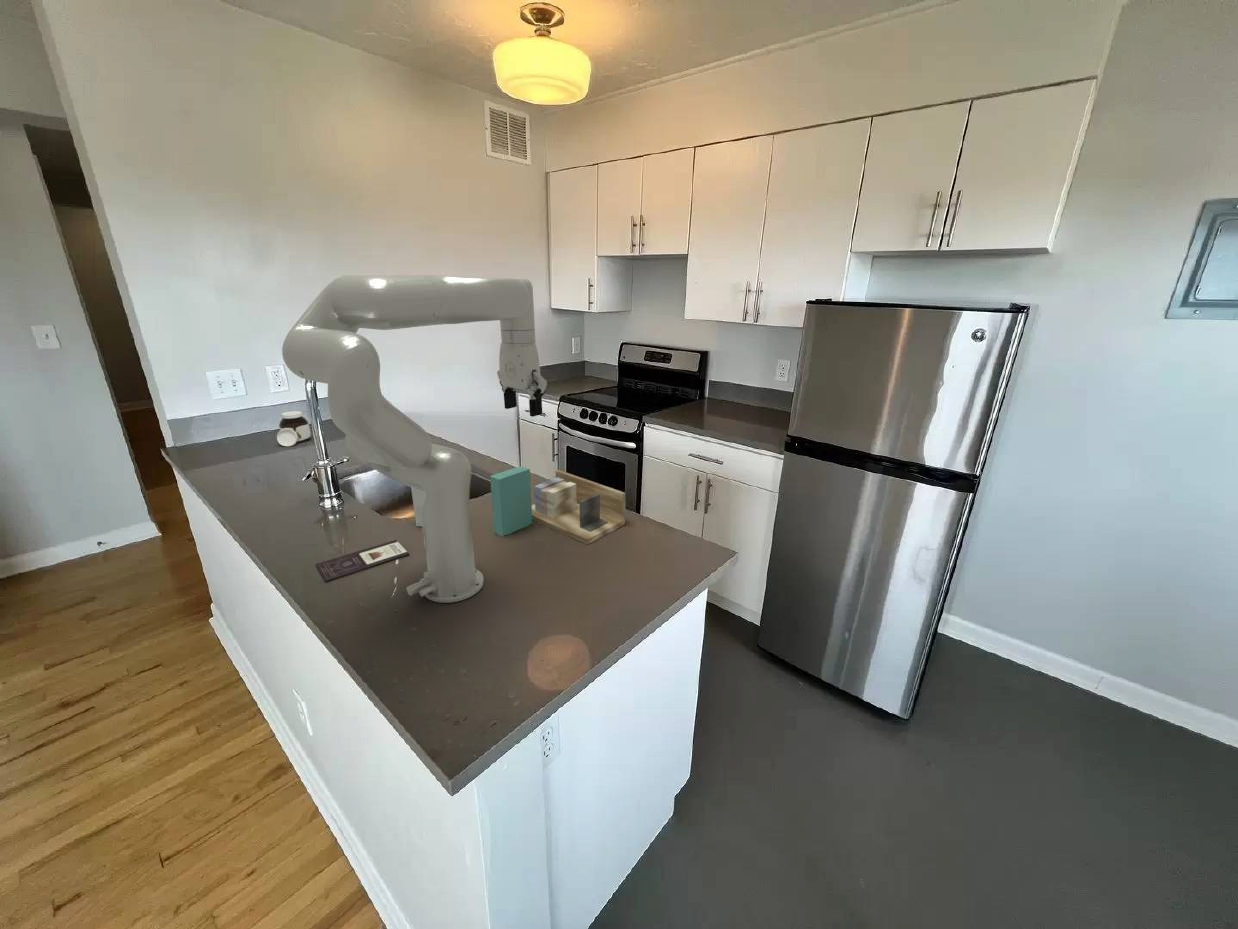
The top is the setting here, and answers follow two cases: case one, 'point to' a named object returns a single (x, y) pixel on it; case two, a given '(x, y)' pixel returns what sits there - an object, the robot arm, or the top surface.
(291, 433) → the spread jar
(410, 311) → the robot arm
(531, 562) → the top surface
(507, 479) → the book
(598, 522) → the shelf
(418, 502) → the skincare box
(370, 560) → the chocolate bar
